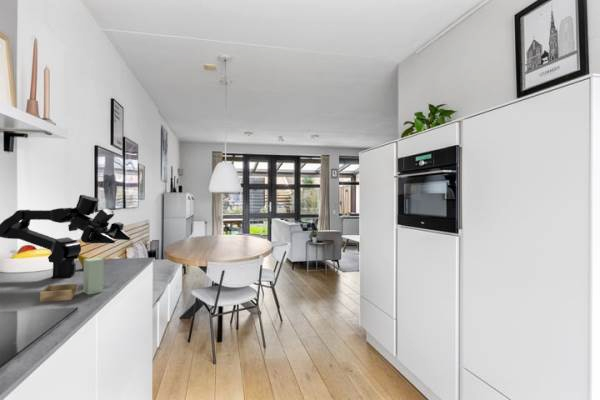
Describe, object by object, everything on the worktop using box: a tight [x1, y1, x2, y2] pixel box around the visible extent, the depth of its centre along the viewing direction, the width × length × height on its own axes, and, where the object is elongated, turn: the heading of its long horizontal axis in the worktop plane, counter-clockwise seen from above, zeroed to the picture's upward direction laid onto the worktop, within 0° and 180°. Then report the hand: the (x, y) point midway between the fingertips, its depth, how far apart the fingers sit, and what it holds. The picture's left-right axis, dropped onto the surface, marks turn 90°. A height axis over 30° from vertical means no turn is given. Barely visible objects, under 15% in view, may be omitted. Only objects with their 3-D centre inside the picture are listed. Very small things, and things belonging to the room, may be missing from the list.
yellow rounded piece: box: [77, 253, 91, 270], centre depth 140 cm, size 5×5×10 cm
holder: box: [39, 283, 78, 303], centre depth 102 cm, size 8×8×3 cm
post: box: [82, 257, 105, 295], centre depth 108 cm, size 4×4×11 cm
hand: (122, 240), depth 124 cm, fingers open, 9 cm apart
